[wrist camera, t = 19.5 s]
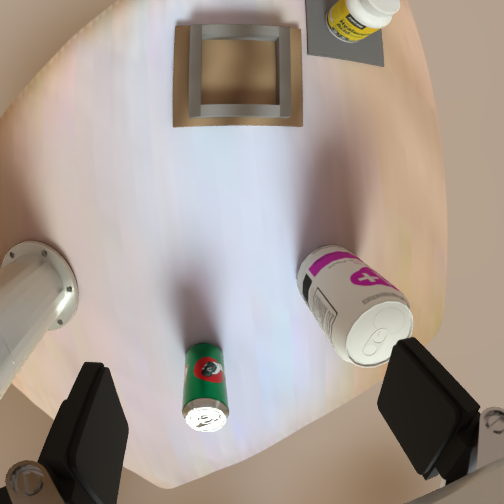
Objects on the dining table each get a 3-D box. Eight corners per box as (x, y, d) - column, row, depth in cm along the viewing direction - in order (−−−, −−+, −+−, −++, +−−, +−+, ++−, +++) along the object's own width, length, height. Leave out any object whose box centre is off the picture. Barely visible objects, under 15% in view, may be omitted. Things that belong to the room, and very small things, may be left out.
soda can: (179, 347, 41) (173, 410, 29) (215, 335, 41) (219, 398, 30) (194, 374, 42) (194, 438, 31) (228, 364, 43) (236, 427, 31)
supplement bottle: (321, 35, 30) (355, 5, 21) (327, 1, 29) (360, -33, 20) (362, 50, 31) (404, 27, 22) (366, 16, 30) (407, -12, 21)
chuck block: (174, 127, 32) (170, 125, 30) (176, 29, 29) (173, 19, 26) (300, 126, 34) (308, 124, 31) (298, 31, 30) (305, 23, 28)
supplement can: (316, 232, 38) (374, 280, 24) (366, 260, 40) (432, 312, 26) (283, 289, 40) (321, 360, 26) (334, 311, 42) (385, 380, 28)
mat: (307, 54, 31) (308, 53, 31) (304, -13, 28) (305, -15, 28) (382, 66, 33) (384, 66, 32) (376, 2, 30) (378, 1, 29)
